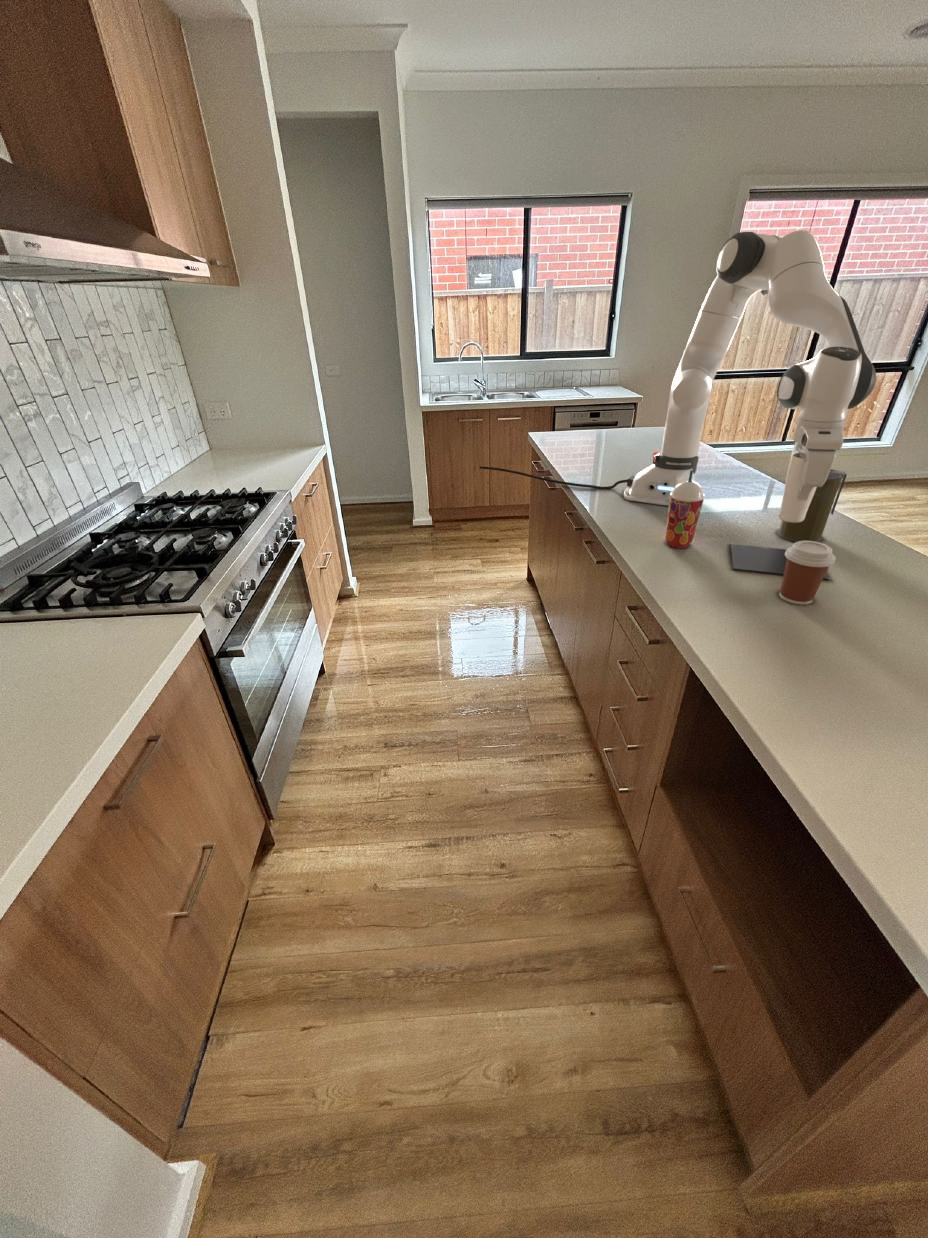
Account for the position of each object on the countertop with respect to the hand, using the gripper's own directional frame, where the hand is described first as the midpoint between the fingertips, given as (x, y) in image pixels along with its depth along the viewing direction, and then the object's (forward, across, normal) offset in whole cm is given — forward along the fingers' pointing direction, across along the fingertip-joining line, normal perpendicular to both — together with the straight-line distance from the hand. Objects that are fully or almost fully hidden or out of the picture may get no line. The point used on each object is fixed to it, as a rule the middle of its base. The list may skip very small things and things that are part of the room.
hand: (799, 494), depth 118 cm
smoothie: (+17, -5, -24) cm, 30 cm away
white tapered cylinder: (+6, 0, 0) cm, 6 cm away
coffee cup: (+17, +18, +1) cm, 25 cm away
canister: (+18, -19, +7) cm, 27 cm away
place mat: (+17, 0, -1) cm, 17 cm away
